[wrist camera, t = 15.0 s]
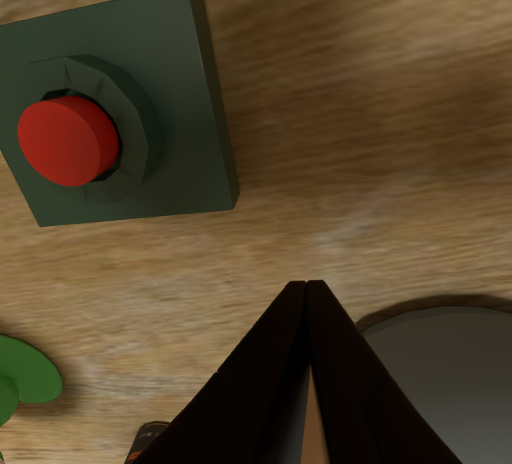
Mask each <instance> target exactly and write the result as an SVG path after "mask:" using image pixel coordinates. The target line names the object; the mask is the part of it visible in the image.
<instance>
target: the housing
mask: <svg viewBox="0 0 512 464" xmlns="http://www.w3.org/2000/svg"><path fill="white" fill-rule="evenodd" d="M62 96H78V97H82V98H85V99H87V100H89V101H91V102H92V103H94V104H96V105H97V106H98V107H99V108H101V109H102V110H103V111H104V112H105V113H106V115H107V116H108V117H109V119H110V120H111V122H112V123H113V125H114V127H115V130H116V132H117V136H118V141H119V150H118V155H117V158H116V161H115V162H114V164H113V165H112V166H111V168H109V169H108V170H107V171H105V172H104V173H102V174H101V175H99V176H98V177H96V178H94V179H93V180H91V181H90V182H88V183H86V184H84V185H81V186H64V185H60V184H57V183H54V182H52V181H50V180H48V179H47V178H45V177H44V176H42V175H41V174H40V173H39V172H37V171H36V170H35V169H34V167H33V166H32V165H31V164H30V163H29V161H28V160H27V158H26V157H25V155H24V153H23V151H22V149H21V146H20V143H19V139H18V123H19V119H20V117H21V115H22V113H23V112H24V111H25V110H26V108H27V107H29V106H30V105H32V104H34V103H36V102H40V101H45V100H49V99H53V98H58V97H62ZM0 150H1V152H2V154H3V156H4V158H5V160H6V162H7V164H8V166H9V168H10V170H11V172H12V174H13V175H14V177H15V179H16V181H17V183H18V185H19V187H20V189H21V191H22V193H23V195H24V197H25V199H26V201H27V203H28V205H29V207H30V209H31V211H32V213H33V215H34V217H35V219H36V221H37V223H38V225H39V227H46V226H57V225H69V224H80V223H91V222H102V221H113V220H124V219H135V218H146V217H157V216H168V215H180V214H191V213H202V212H213V211H224V210H233V209H234V206H235V204H236V202H237V200H238V197H239V195H240V191H239V185H238V180H237V175H236V170H235V165H234V159H233V154H232V149H231V144H230V138H229V133H228V128H227V123H226V118H225V112H224V107H223V102H222V97H221V91H220V86H219V81H218V76H217V71H216V65H215V60H214V55H213V50H212V44H211V39H210V34H209V29H208V24H207V18H206V13H205V8H204V3H203V0H111V1H106V2H102V3H97V4H93V5H89V6H84V7H80V8H75V9H71V10H66V11H62V12H57V13H53V14H48V15H44V16H39V17H35V18H31V19H26V20H22V21H17V22H13V23H8V24H4V25H0Z"/></svg>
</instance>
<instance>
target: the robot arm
mask: <svg viewBox="0 0 512 464" xmlns="http://www.w3.org/2000/svg"><path fill="white" fill-rule="evenodd" d="M310 367H311V373H312V381H313V388H314V395H315V402H316V409H317V416H318V423H319V430H320V436H321V443H322V450H323V457H324V464H463V463H462V462H461V461H460V459H459V458H458V457H457V456H456V455H455V454H454V453H453V452H452V451H451V449H450V448H449V447H448V446H447V445H446V444H445V443H444V442H443V440H442V439H441V438H440V437H439V436H438V435H437V433H436V432H435V431H434V430H433V429H432V428H431V426H430V425H429V424H428V423H427V422H426V421H425V419H424V418H423V417H422V416H421V415H420V414H419V412H418V411H417V410H416V408H415V407H414V406H413V404H412V403H411V402H410V400H409V399H408V398H407V396H406V395H405V394H404V392H403V391H402V390H401V388H400V387H399V385H398V384H397V383H396V381H395V380H394V378H393V377H392V376H390V373H389V372H388V370H387V369H386V367H385V366H384V365H383V363H382V362H381V360H380V359H379V358H378V356H377V355H376V353H375V352H374V350H373V349H372V348H371V346H370V345H369V343H368V342H367V341H366V339H365V338H364V336H363V335H362V334H361V332H360V331H359V329H358V328H357V326H356V325H355V324H354V322H353V321H352V319H351V318H350V317H349V315H348V314H347V312H346V311H345V309H344V308H343V307H342V305H341V304H340V302H339V301H338V300H337V298H336V297H335V295H334V294H333V293H332V291H331V290H330V288H329V287H328V285H327V284H326V283H325V281H323V280H309V281H307V283H306V281H303V280H302V281H290V282H289V283H288V284H287V285H286V286H285V287H284V289H283V290H282V291H281V292H280V294H279V295H278V296H277V297H276V298H275V300H274V301H273V302H272V303H271V305H270V306H269V307H268V308H267V310H266V311H265V312H264V313H263V314H262V316H261V317H260V318H259V319H258V321H257V322H256V323H255V324H254V325H253V327H252V328H251V329H250V330H249V332H248V333H247V334H246V335H245V336H244V338H243V339H242V340H241V341H240V343H239V344H238V345H237V346H236V348H235V349H234V350H233V351H232V352H231V354H230V355H229V356H228V357H227V359H226V360H225V361H224V362H223V363H222V365H221V366H220V367H219V368H218V370H217V372H218V373H217V372H215V373H214V374H213V375H212V377H211V378H210V379H209V380H208V382H207V383H206V384H205V385H204V386H203V388H202V389H201V390H200V391H199V392H198V393H197V395H196V396H195V397H194V398H193V399H192V400H191V401H190V403H189V404H188V405H187V406H186V407H185V408H184V409H183V410H182V411H181V412H180V413H179V414H178V415H177V416H176V417H175V418H174V419H173V420H172V422H171V423H170V424H169V425H168V426H167V427H166V428H165V429H164V430H163V431H162V432H161V433H160V434H159V435H158V436H157V437H156V438H155V439H154V440H153V441H152V442H151V443H150V444H149V445H148V446H147V447H146V448H145V449H144V450H143V451H142V452H141V453H140V454H139V455H138V456H137V457H136V458H135V459H134V460H133V461H132V462H131V463H130V464H300V463H301V454H302V445H303V436H304V427H305V418H306V409H307V400H308V391H309V382H310Z"/></svg>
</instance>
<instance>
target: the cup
mask: <svg viewBox="0 0 512 464" xmlns="http://www.w3.org/2000/svg"><path fill="white" fill-rule="evenodd" d="M61 392H62V378H61V376H60V374H59V372H58V370H57V368H56V366H55V365H54V364H53V363H52V362H51V361H50V360H49V359H48V358H47V357H46V356H45V355H44V354H43V353H42V352H40V351H39V350H37V349H35V348H33V347H32V346H30V345H28V344H27V343H25V342H23V341H20V340H17V339H14V338H11V337H8V336H4V335H0V427H1V426H2V425H3V424H4V423H5V422H6V421H8V420H9V419H10V417H11V416H12V415H13V413H14V411H15V409H16V407H17V406H18V401H21V402H25V403H38V404H41V403H45V402H49V401H52V400H55V398H56V397H57V396H58V395H59V394H60V393H61ZM0 464H5V463H4V459H3V456H2V453H1V452H0Z"/></svg>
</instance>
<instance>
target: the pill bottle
mask: <svg viewBox="0 0 512 464" xmlns="http://www.w3.org/2000/svg"><path fill="white" fill-rule="evenodd" d="M167 426H168V425H167V424H160V423H155V424H149V425H146V426H144V427H143V428H141V429H140V430H139V432H138V433H137V435H136V438H135V440H134V442H133V444H132V447H131V449H130V451H129V453H128V456H127V458H126V460H125V462H124V464H130V463H131V462H132V461H133V460H134V459H135V458H136V457H137V456H138V455H139V454H140V453H141V452H142V451H143V450H144V449H145V448H146V447H147V446H148V445H149V444H150V443H151V442H152V441H153V440H154V439H155V438H156V437H157V436H158V435H159V434H160V433H161V432H162V431H163V430H164V429H165V428H166V427H167Z"/></svg>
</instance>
